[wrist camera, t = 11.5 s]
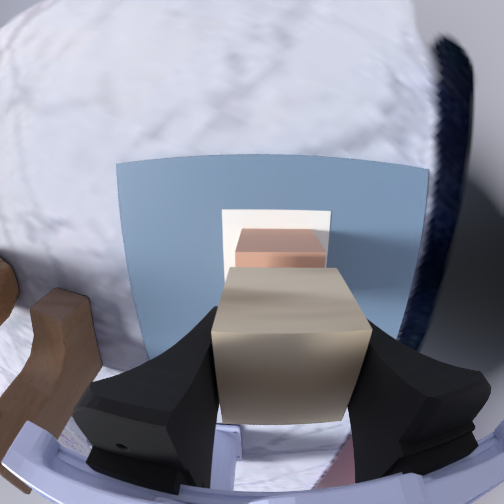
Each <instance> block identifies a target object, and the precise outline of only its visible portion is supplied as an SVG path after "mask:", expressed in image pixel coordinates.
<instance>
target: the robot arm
mask: <svg viewBox="0 0 504 504" xmlns="http://www.w3.org/2000/svg"><path fill="white" fill-rule="evenodd" d="M217 309H218V306H214V307H213V308H212V309H211V310H210V311H209V312H208V313H207V314H206V316H205V317H204V318H203V319H202V320H201V321H200V322H199V323H198V324H197V325H196V326H195V327H194V328H193V329H192V330H191V331H190V332H189V333H188V334H186V335H185V336H184V337H183V338H182V339H181V340H179V341H178V342H177V343H176V344H175V345H173V346H172V347H171V348H169V349H168V350H166V351H165V352H163V353H162V354H160V355H158V356H157V357H155V358H153V359H151V360H149V361H148V362H146V363H144V364H142V365H140V366H138V367H136V368H134V369H131V370H129V371H126V372H124V373H121V374H119V375H116V376H113V377H109V378H106V379H102V380H99V381H95V382H91V383H90V384H89V385H88V387H87V388H86V390H85V391H84V393H83V395H82V396H81V398H80V399H79V401H78V403H77V404H76V406H75V408H74V410H73V412H72V414H73V418H74V421H75V422H76V424H77V426H78V427H79V428H80V430H81V431H82V432H83V434H84V435H85V436H86V438H87V439H88V440H89V441H90V443H91V444H92V445H93V447H92V449H91V451H90V454H89V456H88V457H86V456H83V455H81V454H79V453H77V452H74V451H72V450H70V449H68V448H66V447H64V446H61V445H60V443H59V442H58V440H57V439H56V438H55V437H54V436H53V435H52V434H50V433H49V432H48V431H46V430H45V429H43V428H41V427H39V426H37V425H35V424H34V423H32V422H30V421H26V423H25V424H24V426H23V427H22V429H21V430H20V432H19V434H18V435H17V437H16V438H15V440H14V442H13V443H12V445H11V446H10V448H9V450H8V451H7V453H6V455H5V457H4V458H3V460H2V465H3V466H4V467H6V468H7V469H8V470H9V471H10V472H11V473H13V474H14V475H15V476H16V477H17V478H19V479H20V480H21V481H22V482H24V483H25V484H26V485H28V486H29V487H30V488H32V489H33V490H35V491H36V492H37V493H39V494H40V495H42V496H43V497H45V498H46V499H48V500H50V501H51V502H53V503H55V504H470V503H472V502H474V501H476V500H477V499H479V498H480V497H482V496H483V495H485V494H486V493H488V492H489V491H491V490H492V489H493V488H495V487H496V486H498V485H499V484H500V483H502V482H503V481H504V420H503V421H502V422H501V423H500V424H499V425H498V426H497V428H496V429H495V430H494V432H493V433H491V434H489V435H487V436H486V437H484V438H482V439H480V440H478V441H476V439H475V437H474V435H473V433H472V431H473V430H474V429H475V425H474V423H473V422H472V421H473V419H474V418H475V417H476V416H477V414H478V413H479V412H480V410H481V409H482V408H483V406H484V405H485V403H486V402H487V400H488V398H489V396H490V393H491V386H490V384H489V383H488V381H487V380H486V378H485V377H484V376H483V374H482V373H481V372H480V371H475V370H469V369H465V368H460V367H455V366H452V365H449V364H446V363H443V362H440V361H437V360H435V359H432V358H430V357H427V356H425V355H423V354H421V353H419V352H417V351H415V350H413V349H411V348H409V347H407V346H406V345H404V344H402V343H401V342H399V341H397V340H396V339H394V338H393V337H391V336H390V335H388V334H387V333H386V332H384V331H383V330H381V329H380V328H379V327H377V326H376V325H375V324H373V323H372V322H371V321H370V320H368V319H367V318H366V319H367V321H368V322H369V324H370V326H371V328H372V333H371V337H370V340H369V344H368V347H367V351H366V354H365V357H364V360H363V363H362V367H361V370H360V373H359V376H358V379H357V381H356V384H355V387H354V390H353V393H352V395H351V398H350V401H349V403H348V406H347V407H348V412H349V418H350V424H351V431H352V438H353V447H354V460H355V484H351V485H345V486H339V487H332V488H325V489H315V490H305V491H289V492H243V491H233V488H234V477H235V467H236V461H242V447H241V433H240V427H238V426H231V425H218V424H216V421H217V413H218V408H219V403H220V401H219V393H218V386H217V378H216V370H215V362H214V353H213V344H212V335H211V330H212V327H213V323H214V320H215V316H216V313H217Z"/></svg>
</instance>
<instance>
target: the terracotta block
mask: <svg viewBox="0 0 504 504" xmlns="http://www.w3.org/2000/svg"><path fill="white" fill-rule="evenodd" d="M325 259H326V252H325V250H324V248H323V247H322V245H321V244H320V242H319V240H318V239H317V237H316V236H315V234H314V233H313V231H312V230H311V229H258V228H242V230H241V233H240V236H239V240H238V243H237V247H236V250H235V267H273V268H325Z"/></svg>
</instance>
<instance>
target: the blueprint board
mask: <svg viewBox="0 0 504 504" xmlns="http://www.w3.org/2000/svg"><path fill="white" fill-rule="evenodd" d="M116 170H117V186H118V199H119V209H120V219H121V227H122V235H123V242H124V249H125V255H126V262H127V267H128V273H129V278H130V284H131V289H132V294H133V298H134V303H135V307H136V312H137V316H138V320H139V324H140V328H141V332H142V336H143V340H144V343H145V347H146V351H147V354H148V358H149V360H151V359H153V358H155V357H157V356H158V355H160V354H162V353H163V352H165V351H166V350H168V349H169V348H171V347H172V346H173V345H175V344H176V343H177V342H178V341H179V340H181V339H182V338H183V337H184V336H185V335H186V334H188V333H189V332H190V331H191V330H192V329H193V328H194V327H195V326H196V325H197V324H198V323H199V322H200V321H201V320H202V319H203V318H204V317H205V316H206V314H207V313H208V312H209V311H210V310H211V309H212V308H213V307H214V306H219V302H220V299H221V295H222V292H223V288H224V285H225V281H226V278H227V275H228V271H229V268H230V267H235V250H236V247H237V243H238V240H239V236H240V233H241V230H242V228H258V229H311V230H312V231H313V233H314V234H315V236H316V237H317V239H318V240H319V242H320V244H321V245H322V247H323V248H324V250H325V252H326V259H325V268H337V269H338V271H339V273H340V274H341V276H342V277H343V279H344V281H345V282H346V284H347V286H348V288H349V289H350V291H351V293H352V294H353V296H354V298H355V299H356V301H357V303H358V305H359V306H360V308H361V310H362V312H363V313H364V315H365V317H366V318H367V319H368V320H370V321H371V322H372V323H373V324H375V325H376V326H377V327H379V328H380V329H381V330H383V331H384V332H386V333H387V334H388V335H390V336H391V337H393V338H394V339H396V338H397V335H398V332H399V329H400V326H401V323H402V319H403V316H404V313H405V309H406V305H407V302H408V298H409V294H410V290H411V286H412V282H413V277H414V273H415V268H416V264H417V259H418V253H419V248H420V242H421V236H422V230H423V223H424V215H425V207H426V197H427V186H428V170H429V169H423V168H418V167H412V166H405V165H399V164H391V163H384V162H376V161H367V160H358V159H347V158H336V157H321V156H303V155H269V154H242V155H208V156H190V157H175V158H164V159H153V160H144V161H135V162H127V163H119V164H116Z"/></svg>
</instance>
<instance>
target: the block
mask: <svg viewBox="0 0 504 504" xmlns="http://www.w3.org/2000/svg"><path fill="white" fill-rule="evenodd" d="M18 297H19V288H18V284H17V280H16V277H15V274H14V272H13V270H12V268H11V267H10V265H9V264H7V263H6V262H4V261H3V260H2V259H1V258H0V326H1V324H2V323H3V322H4V321H5V320H6V319H7V318H8V317H9V316H10V314H11V312H12V309H13V308H14V305H15V302H16V300H17V298H18Z"/></svg>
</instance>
